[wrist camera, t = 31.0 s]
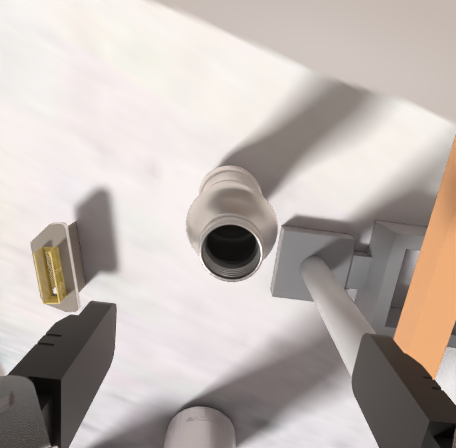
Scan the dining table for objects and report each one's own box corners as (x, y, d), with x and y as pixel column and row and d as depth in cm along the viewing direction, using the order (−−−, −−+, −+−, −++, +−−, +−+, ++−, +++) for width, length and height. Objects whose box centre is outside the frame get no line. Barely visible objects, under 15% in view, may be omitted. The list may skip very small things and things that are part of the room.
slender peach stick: (454, 83, 16) (481, 77, 14) (521, 94, 16) (558, 89, 14) (356, 415, 20) (367, 442, 19) (408, 422, 21) (425, 449, 19)
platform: (38, 321, 44) (6, 354, 37) (10, 179, 39) (-33, 189, 33) (132, 319, 43) (115, 351, 37) (115, 176, 39) (92, 185, 32)
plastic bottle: (217, 151, 38) (204, 172, 18) (271, 182, 38) (312, 232, 19) (190, 202, 39) (151, 271, 20) (242, 230, 40) (254, 323, 20)
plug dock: (439, 324, 43) (627, 499, 22) (267, 303, 42) (301, 463, 22) (469, 232, 40) (718, 338, 19) (284, 208, 39) (341, 292, 19)
